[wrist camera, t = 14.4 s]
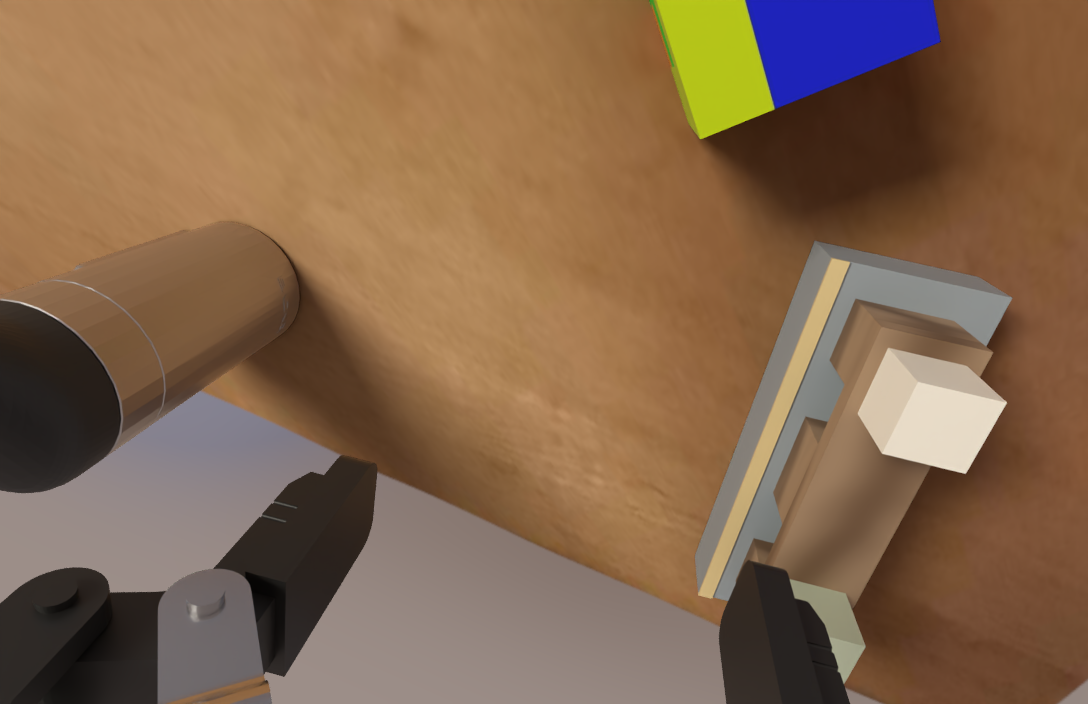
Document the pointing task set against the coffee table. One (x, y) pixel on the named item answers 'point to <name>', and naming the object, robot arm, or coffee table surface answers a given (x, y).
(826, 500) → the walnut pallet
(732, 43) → the puzzle toy
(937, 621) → the coffee table surface
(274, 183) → the coffee table surface
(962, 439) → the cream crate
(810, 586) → the block
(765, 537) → the slate dock
